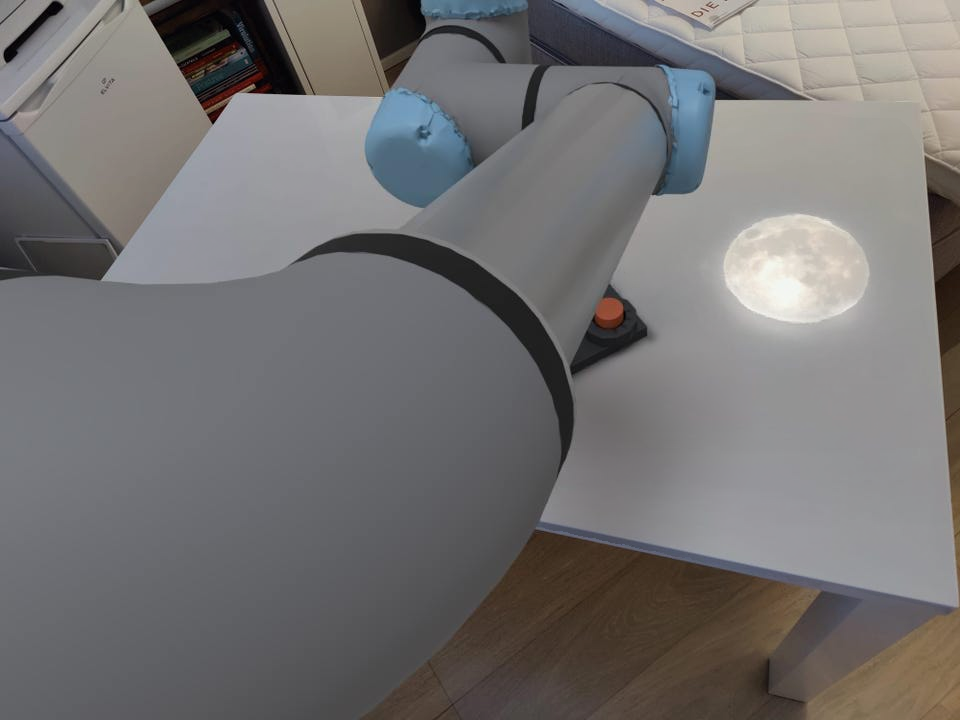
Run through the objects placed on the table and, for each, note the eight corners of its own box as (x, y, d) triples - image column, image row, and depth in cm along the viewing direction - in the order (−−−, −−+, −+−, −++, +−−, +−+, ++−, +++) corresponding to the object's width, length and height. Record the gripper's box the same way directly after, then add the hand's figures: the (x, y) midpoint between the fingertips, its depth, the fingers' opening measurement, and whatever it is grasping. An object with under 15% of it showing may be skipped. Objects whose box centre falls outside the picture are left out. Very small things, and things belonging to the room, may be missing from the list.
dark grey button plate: (528, 402, 79) (525, 385, 76) (476, 323, 87) (471, 305, 84) (650, 338, 81) (650, 319, 78) (587, 267, 89) (586, 248, 86)
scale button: (604, 333, 79) (604, 324, 77) (589, 315, 81) (588, 305, 79) (628, 321, 79) (628, 311, 78) (613, 303, 81) (613, 293, 80)
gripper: (416, 212, 59) (466, 370, 77) (617, 118, 61) (619, 292, 80) (383, 165, 63) (438, 325, 81) (572, 80, 66) (584, 253, 84)
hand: (528, 309), depth 80 cm, fingers closed on beverage can, 7 cm apart
